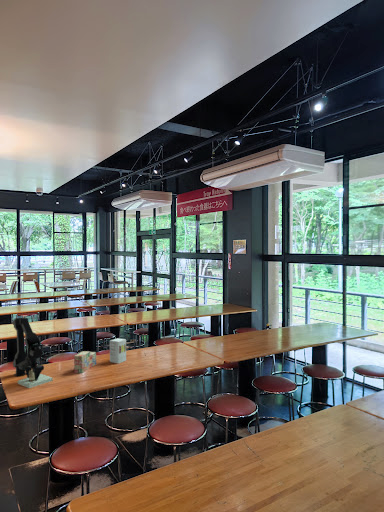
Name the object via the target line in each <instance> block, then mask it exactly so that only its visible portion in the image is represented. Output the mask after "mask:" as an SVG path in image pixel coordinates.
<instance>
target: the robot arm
mask: <svg viewBox="0 0 384 512" xmlns="http://www.w3.org/2000/svg"><path fill="white" fill-rule="evenodd" d="M12 325H13V328H14V330H15V331H16V350H17V351H16V353H15V355H14V359H13V362H12V367H13V368H14V369H15V373H14V374H13V376H16V377H21V376H27V377H26V378H29V371H30V370H32V372H33V373H34V377H35V381H37V379H38V377H39V375H40V374H42V371H43V370H45V365H43V364H39V362H38V359H40V358H41V357H42V356H43V350H42V349H40V347H41V346H42V345H41V341H40V338H39V336H38V335H37V333H35V332H34V331H33V328H32V327H31V325H30V322H29V318H27V317H15V318H14V320H12ZM25 346H26V350H25Z"/></svg>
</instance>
